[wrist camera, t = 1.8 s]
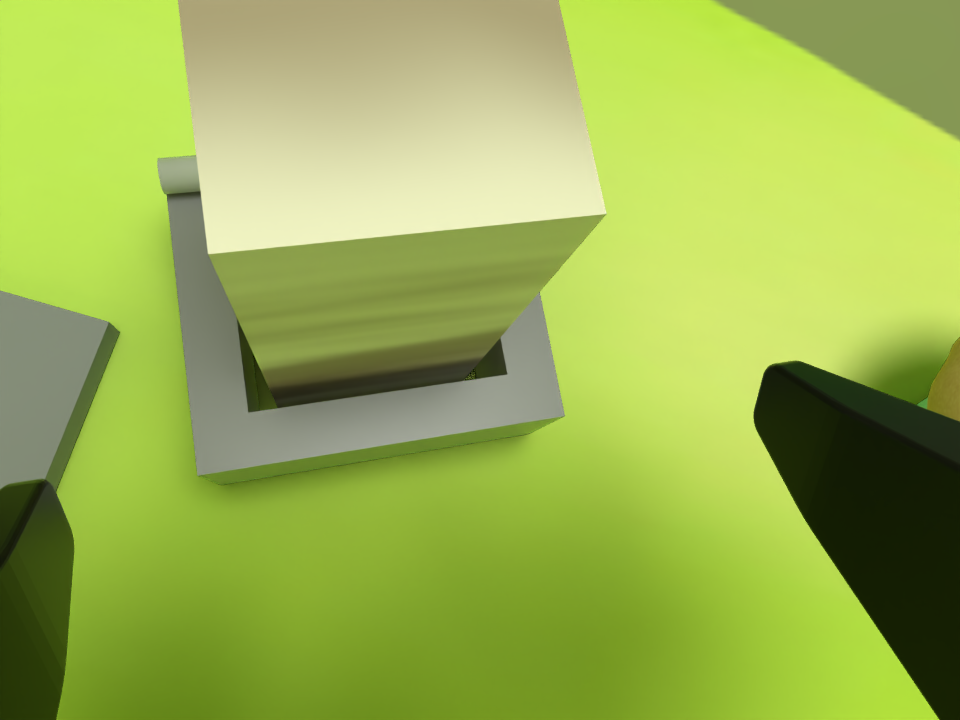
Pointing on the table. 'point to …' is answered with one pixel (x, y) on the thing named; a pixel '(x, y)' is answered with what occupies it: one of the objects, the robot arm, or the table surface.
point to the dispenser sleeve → (343, 422)
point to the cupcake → (946, 387)
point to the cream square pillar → (384, 180)
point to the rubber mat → (46, 384)
